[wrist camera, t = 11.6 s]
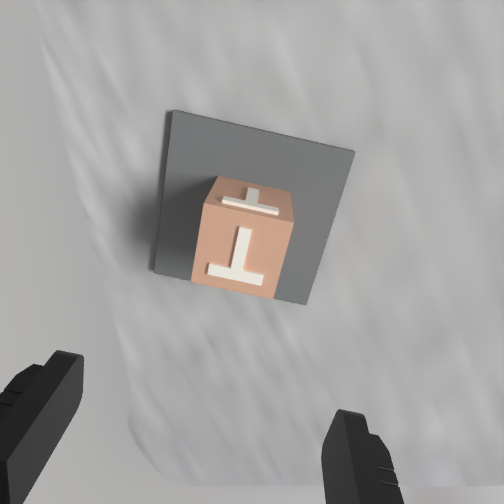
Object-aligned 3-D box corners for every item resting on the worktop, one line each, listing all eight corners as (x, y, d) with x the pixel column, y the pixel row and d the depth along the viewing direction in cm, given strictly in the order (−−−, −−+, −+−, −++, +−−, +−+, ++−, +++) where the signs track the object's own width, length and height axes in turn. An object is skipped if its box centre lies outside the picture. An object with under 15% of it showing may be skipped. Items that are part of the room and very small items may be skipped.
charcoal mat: (175, 109, 26) (173, 110, 25) (353, 150, 26) (355, 152, 25) (155, 269, 31) (153, 273, 30) (305, 301, 31) (306, 305, 31)
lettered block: (218, 172, 26) (203, 200, 21) (290, 189, 27) (295, 220, 21) (206, 241, 29) (190, 283, 23) (273, 256, 29) (272, 301, 23)
